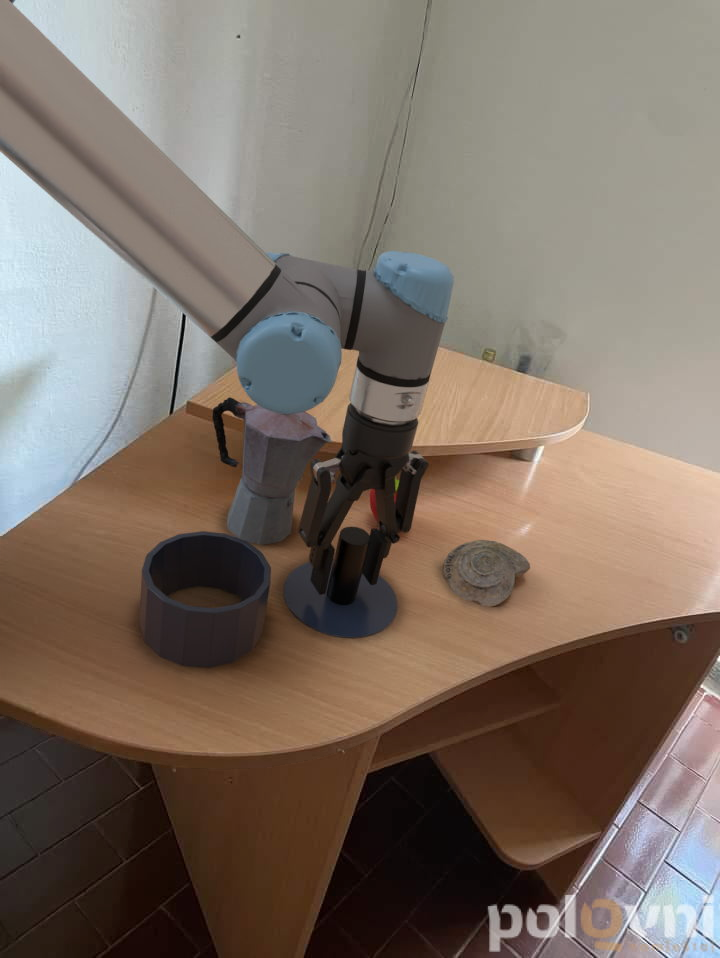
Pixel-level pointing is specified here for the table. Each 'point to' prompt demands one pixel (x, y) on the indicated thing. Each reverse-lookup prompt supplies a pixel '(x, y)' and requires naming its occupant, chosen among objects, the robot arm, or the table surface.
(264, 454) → the moka pot
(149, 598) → the pot
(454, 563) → the fossilized seashell
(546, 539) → the table surface
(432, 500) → the table surface
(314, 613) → the pot lid
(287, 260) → the robot arm
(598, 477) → the table surface
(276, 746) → the table surface
